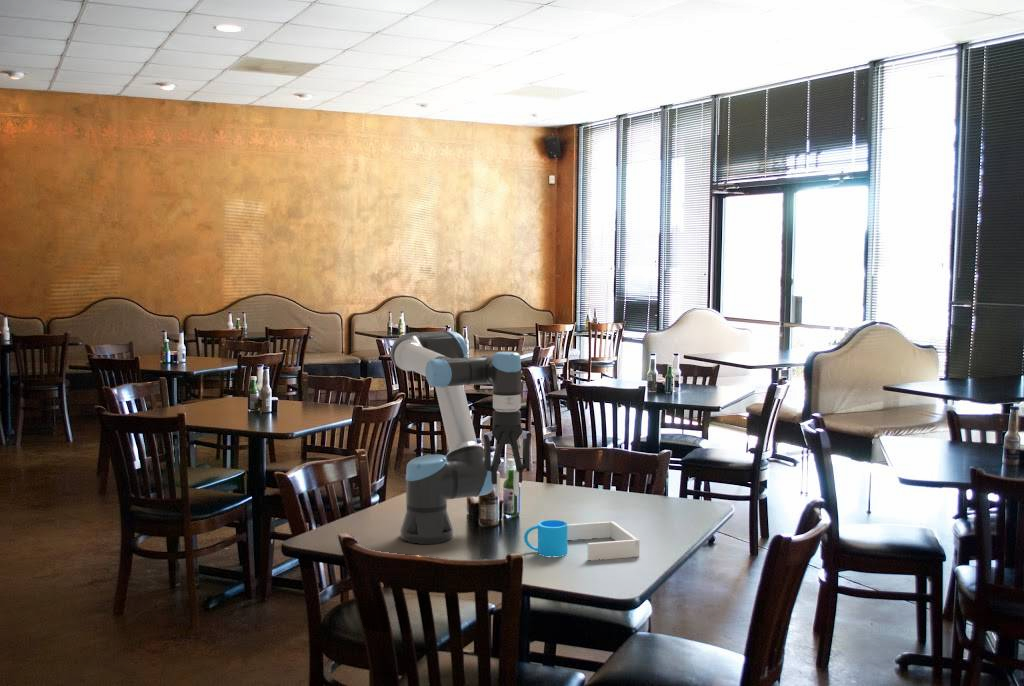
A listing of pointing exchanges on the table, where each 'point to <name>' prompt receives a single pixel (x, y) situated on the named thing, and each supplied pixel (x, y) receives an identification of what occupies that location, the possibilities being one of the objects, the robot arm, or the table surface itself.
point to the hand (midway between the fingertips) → (506, 495)
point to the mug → (550, 538)
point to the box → (619, 548)
